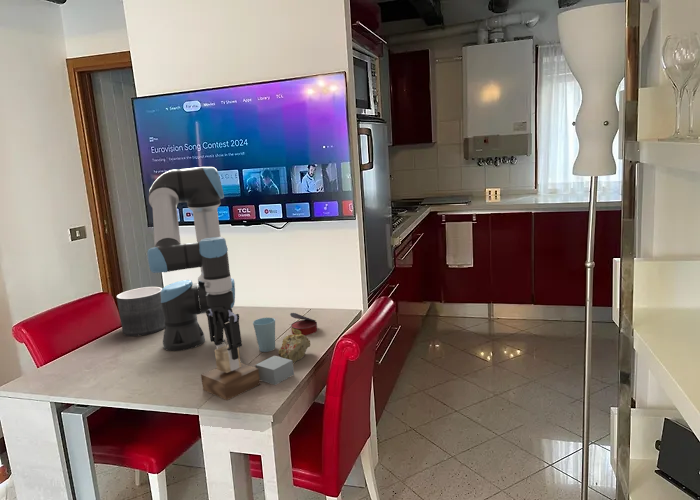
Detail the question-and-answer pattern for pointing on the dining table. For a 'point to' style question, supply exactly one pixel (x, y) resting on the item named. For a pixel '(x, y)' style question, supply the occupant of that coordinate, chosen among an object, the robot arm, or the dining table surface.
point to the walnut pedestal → (230, 381)
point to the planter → (141, 311)
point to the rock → (294, 347)
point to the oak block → (224, 359)
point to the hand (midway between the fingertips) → (229, 366)
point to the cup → (265, 333)
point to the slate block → (275, 369)
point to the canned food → (303, 325)
